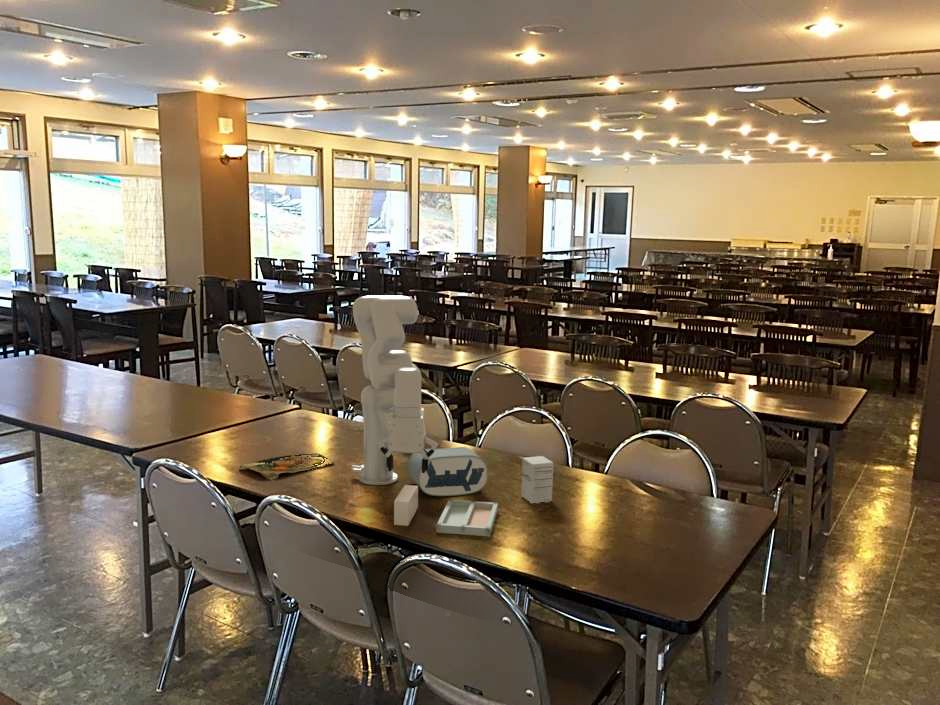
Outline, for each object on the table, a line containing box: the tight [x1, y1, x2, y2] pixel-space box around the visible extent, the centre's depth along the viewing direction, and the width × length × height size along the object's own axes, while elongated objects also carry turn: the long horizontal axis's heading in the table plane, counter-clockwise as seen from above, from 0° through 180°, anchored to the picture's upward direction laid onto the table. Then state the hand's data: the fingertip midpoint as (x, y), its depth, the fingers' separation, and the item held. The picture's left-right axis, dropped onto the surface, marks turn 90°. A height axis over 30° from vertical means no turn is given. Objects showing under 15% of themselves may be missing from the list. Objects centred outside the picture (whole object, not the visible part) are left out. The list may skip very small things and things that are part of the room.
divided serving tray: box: [436, 498, 499, 537], centre depth 225 cm, size 15×20×2 cm
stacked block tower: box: [520, 455, 554, 505], centre depth 244 cm, size 7×7×13 cm
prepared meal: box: [239, 452, 337, 479], centre depth 271 cm, size 28×4×18 cm
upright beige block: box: [393, 484, 419, 527], centre depth 228 cm, size 4×14×7 cm, turn 173°
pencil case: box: [407, 446, 489, 497], centre depth 253 cm, size 22×19×13 cm
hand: (407, 470), depth 225 cm, fingers open, 9 cm apart
